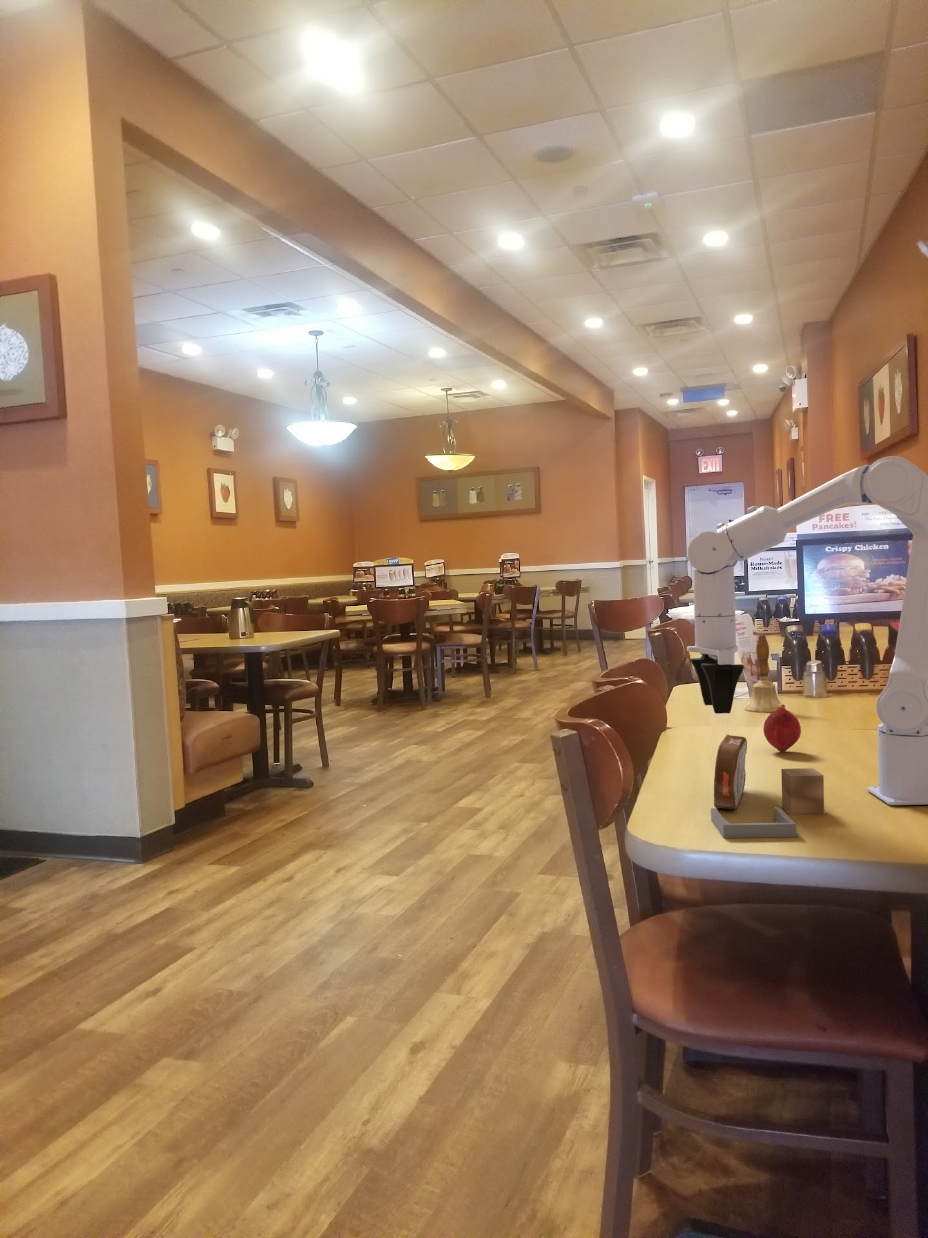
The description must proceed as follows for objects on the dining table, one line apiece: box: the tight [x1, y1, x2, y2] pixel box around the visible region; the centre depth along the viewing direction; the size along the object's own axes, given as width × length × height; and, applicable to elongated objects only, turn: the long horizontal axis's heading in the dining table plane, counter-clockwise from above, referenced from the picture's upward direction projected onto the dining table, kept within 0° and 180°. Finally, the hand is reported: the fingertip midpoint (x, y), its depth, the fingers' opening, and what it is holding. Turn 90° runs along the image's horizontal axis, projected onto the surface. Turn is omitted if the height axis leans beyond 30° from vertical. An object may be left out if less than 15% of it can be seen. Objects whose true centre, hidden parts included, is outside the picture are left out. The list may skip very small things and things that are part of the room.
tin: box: [713, 733, 748, 810], centre depth 117 cm, size 15×3×8 cm, turn 157°
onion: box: [762, 703, 802, 753], centre depth 146 cm, size 6×6×8 cm
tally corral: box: [710, 806, 797, 839], centre depth 105 cm, size 8×7×2 cm
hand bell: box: [744, 634, 782, 714], centre depth 188 cm, size 8×8×16 cm
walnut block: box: [781, 767, 825, 816], centre depth 112 cm, size 4×4×5 cm
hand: (716, 708), depth 129 cm, fingers open, 7 cm apart
